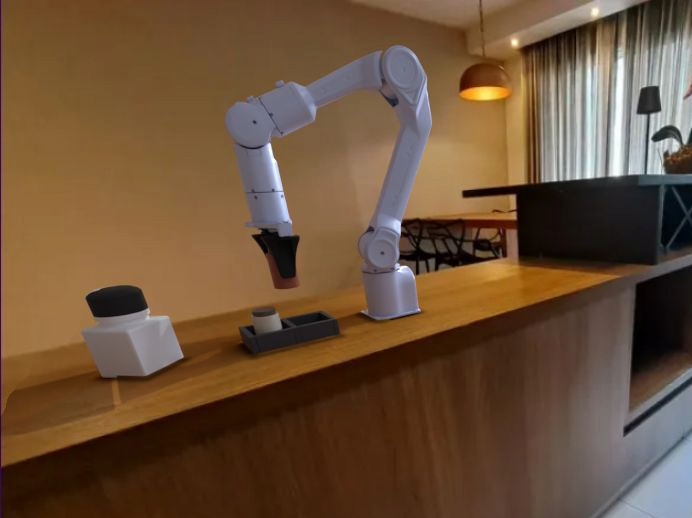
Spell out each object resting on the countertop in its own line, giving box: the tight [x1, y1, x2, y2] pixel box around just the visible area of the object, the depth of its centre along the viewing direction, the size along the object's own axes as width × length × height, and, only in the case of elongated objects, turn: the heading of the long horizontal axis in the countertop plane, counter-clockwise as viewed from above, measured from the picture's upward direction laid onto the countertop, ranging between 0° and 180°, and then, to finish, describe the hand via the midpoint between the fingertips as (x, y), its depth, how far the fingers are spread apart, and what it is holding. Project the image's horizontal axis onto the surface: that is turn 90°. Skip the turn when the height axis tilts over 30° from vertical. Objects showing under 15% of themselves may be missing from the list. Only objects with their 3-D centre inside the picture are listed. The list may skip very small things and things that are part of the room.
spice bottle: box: [265, 249, 301, 290], centre depth 77 cm, size 4×4×8 cm
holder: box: [238, 310, 341, 355], centre depth 74 cm, size 14×7×3 cm, turn 132°
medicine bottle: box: [80, 284, 185, 379], centre depth 62 cm, size 7×7×12 cm
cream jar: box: [250, 305, 283, 335], centre depth 71 cm, size 4×4×6 cm
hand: (284, 275), depth 77 cm, fingers closed on spice bottle, 4 cm apart
